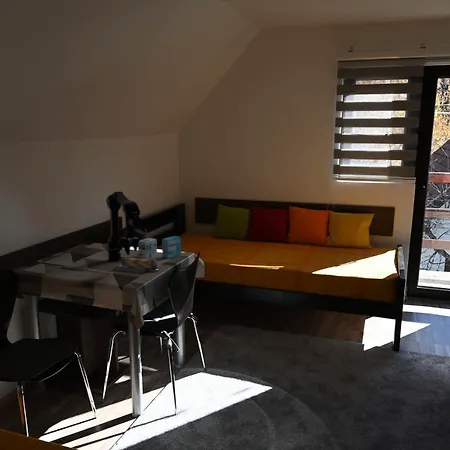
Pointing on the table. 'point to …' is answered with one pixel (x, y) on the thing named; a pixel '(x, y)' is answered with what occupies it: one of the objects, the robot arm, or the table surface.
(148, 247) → the light bulb box
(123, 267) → the label board
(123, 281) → the table surface
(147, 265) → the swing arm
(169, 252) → the data package
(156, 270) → the pivot base
